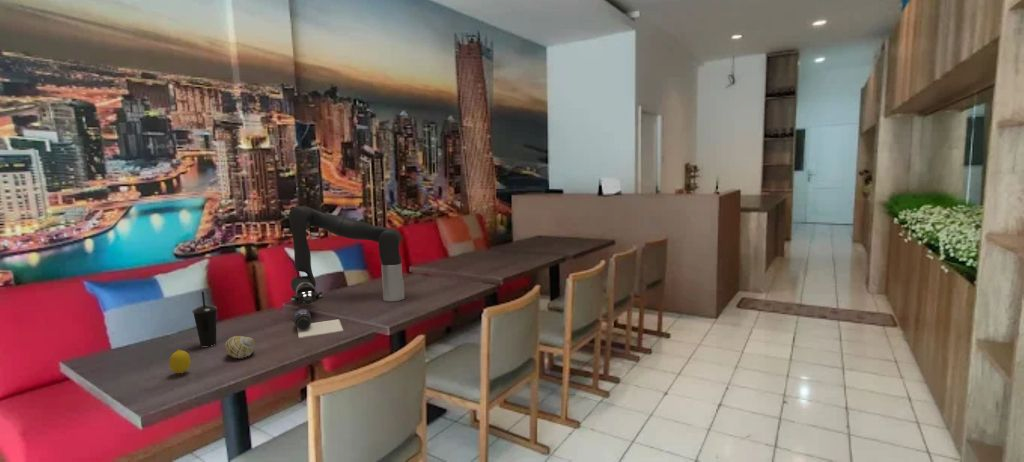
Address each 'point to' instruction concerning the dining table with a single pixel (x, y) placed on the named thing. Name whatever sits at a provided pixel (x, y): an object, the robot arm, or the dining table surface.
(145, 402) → the dining table surface
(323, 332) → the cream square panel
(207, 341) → the drinking cup
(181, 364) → the lemon
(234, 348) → the yarn ball
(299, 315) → the pill bottle
